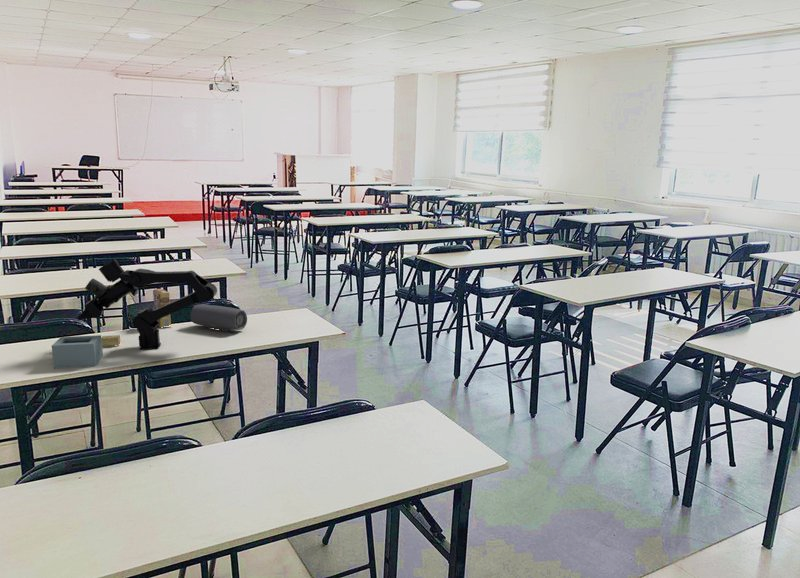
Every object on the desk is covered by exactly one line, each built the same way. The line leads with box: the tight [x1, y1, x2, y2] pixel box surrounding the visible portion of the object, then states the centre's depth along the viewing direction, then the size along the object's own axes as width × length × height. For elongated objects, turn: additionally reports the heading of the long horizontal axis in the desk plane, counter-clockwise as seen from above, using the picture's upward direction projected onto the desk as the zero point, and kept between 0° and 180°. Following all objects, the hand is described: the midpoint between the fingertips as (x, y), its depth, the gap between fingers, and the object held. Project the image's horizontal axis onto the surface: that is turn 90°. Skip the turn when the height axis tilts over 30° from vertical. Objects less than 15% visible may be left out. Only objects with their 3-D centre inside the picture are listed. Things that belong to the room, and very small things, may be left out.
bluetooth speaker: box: [189, 304, 248, 332], centre depth 251 cm, size 23×9×10 cm, turn 68°
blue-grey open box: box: [51, 334, 104, 369], centre depth 209 cm, size 13×10×8 cm
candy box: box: [152, 288, 172, 328], centre depth 255 cm, size 9×4×15 cm, turn 39°
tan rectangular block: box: [101, 334, 121, 347], centre depth 229 cm, size 6×4×4 cm, turn 103°
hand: (81, 314), depth 223 cm, fingers open, 9 cm apart
